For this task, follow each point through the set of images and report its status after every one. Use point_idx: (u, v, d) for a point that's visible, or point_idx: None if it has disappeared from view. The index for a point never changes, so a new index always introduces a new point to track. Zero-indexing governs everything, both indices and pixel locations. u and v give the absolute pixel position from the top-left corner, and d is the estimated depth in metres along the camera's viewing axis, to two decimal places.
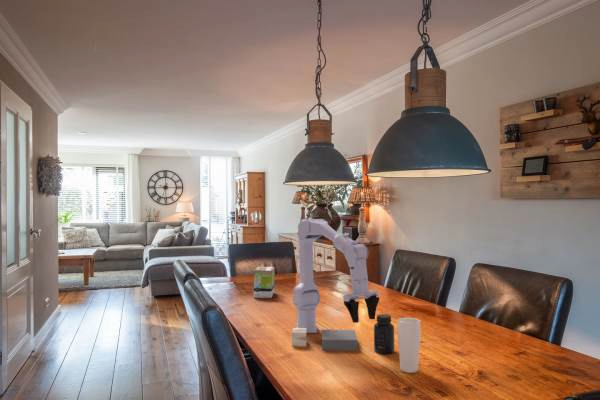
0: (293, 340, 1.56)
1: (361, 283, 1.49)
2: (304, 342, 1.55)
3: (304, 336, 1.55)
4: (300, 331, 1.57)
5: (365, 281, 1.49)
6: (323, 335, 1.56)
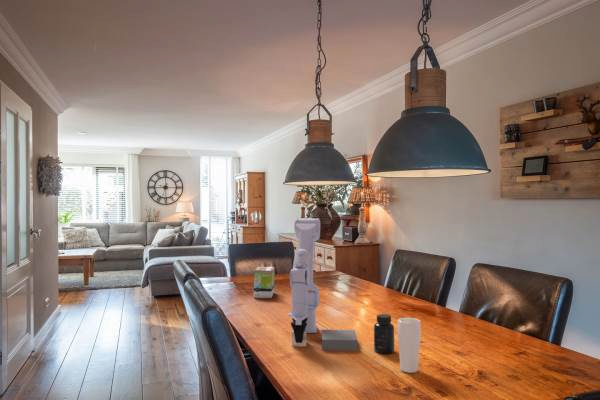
0: (293, 339, 1.56)
1: None
2: (304, 342, 1.55)
3: (304, 336, 1.55)
4: None
5: None
6: (323, 335, 1.56)
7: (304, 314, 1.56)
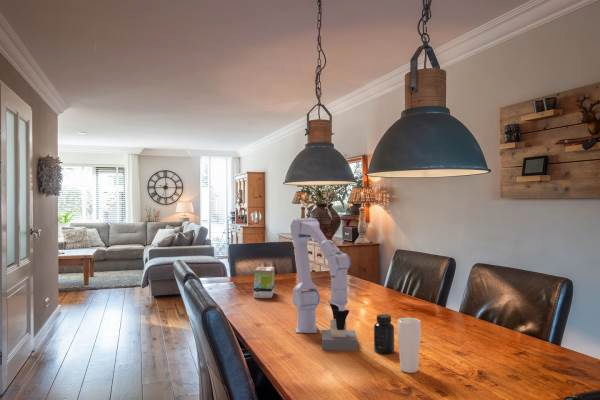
0: (333, 330, 1.55)
1: None
2: (344, 332, 1.55)
3: (344, 326, 1.55)
4: None
5: (331, 289, 1.57)
6: (323, 335, 1.56)
7: (345, 300, 1.55)
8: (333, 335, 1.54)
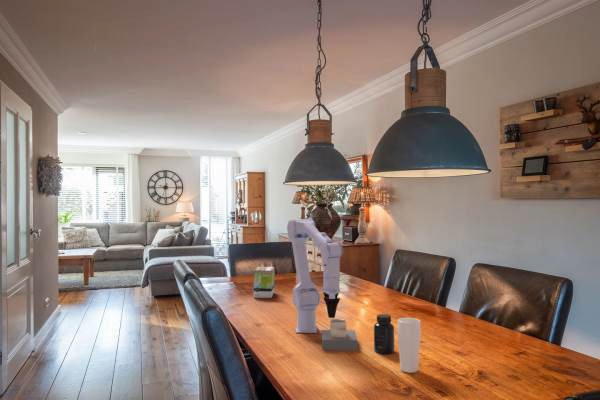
0: (333, 330, 1.55)
1: None
2: (344, 332, 1.55)
3: (344, 326, 1.55)
4: (340, 321, 1.56)
5: (323, 278, 1.58)
6: (323, 335, 1.56)
7: (336, 289, 1.56)
8: (333, 335, 1.55)
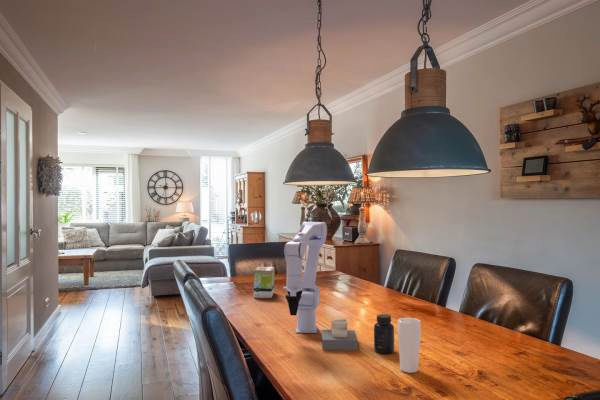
0: (334, 330, 1.55)
1: None
2: (345, 332, 1.55)
3: (345, 326, 1.55)
4: (341, 321, 1.56)
5: None
6: (323, 335, 1.57)
7: (299, 287, 1.59)
8: (334, 335, 1.55)
